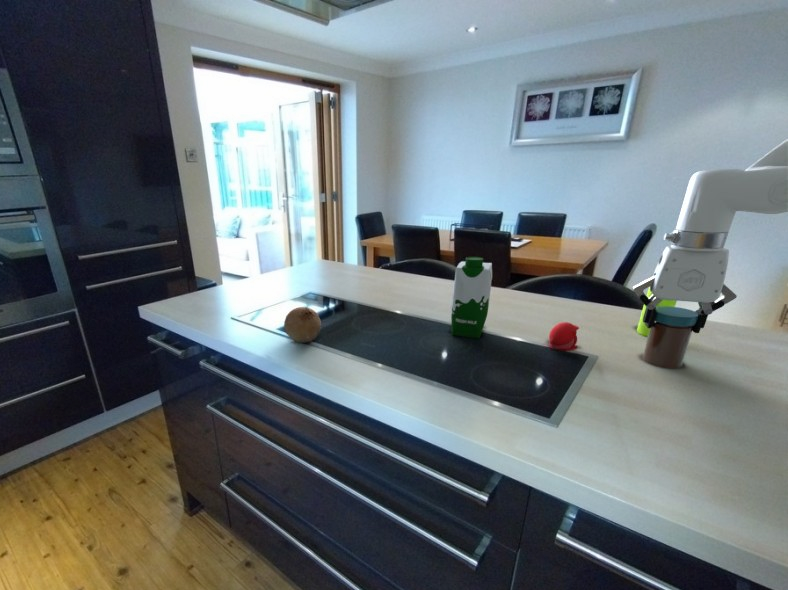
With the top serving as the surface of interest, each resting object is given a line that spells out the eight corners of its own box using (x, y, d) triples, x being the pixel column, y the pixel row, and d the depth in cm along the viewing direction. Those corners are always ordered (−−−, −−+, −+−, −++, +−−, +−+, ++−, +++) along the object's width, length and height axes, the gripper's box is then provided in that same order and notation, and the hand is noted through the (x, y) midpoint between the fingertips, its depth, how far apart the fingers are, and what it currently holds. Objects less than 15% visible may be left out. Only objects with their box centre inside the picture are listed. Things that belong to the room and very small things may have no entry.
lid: (700, 328, 75) (703, 318, 74) (656, 324, 78) (658, 315, 77) (689, 316, 81) (692, 308, 80) (648, 313, 84) (650, 305, 83)
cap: (571, 356, 88) (577, 332, 85) (543, 350, 91) (547, 326, 89) (580, 345, 93) (585, 322, 91) (553, 339, 97) (557, 316, 95)
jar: (676, 358, 84) (689, 312, 80) (686, 371, 79) (701, 322, 75) (638, 354, 87) (650, 309, 83) (646, 367, 81) (658, 319, 78)
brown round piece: (314, 354, 100) (322, 326, 93) (278, 346, 99) (284, 318, 92) (319, 329, 107) (326, 302, 100) (285, 321, 106) (290, 293, 99)
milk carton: (447, 336, 101) (454, 259, 93) (453, 324, 109) (459, 252, 101) (483, 340, 97) (492, 261, 90) (486, 328, 105) (496, 254, 97)
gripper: (645, 241, 74) (622, 329, 81) (770, 245, 66) (733, 341, 73) (638, 236, 80) (617, 317, 87) (751, 239, 73) (719, 327, 79)
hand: (670, 327), depth 80 cm, fingers closed on lid, 7 cm apart
